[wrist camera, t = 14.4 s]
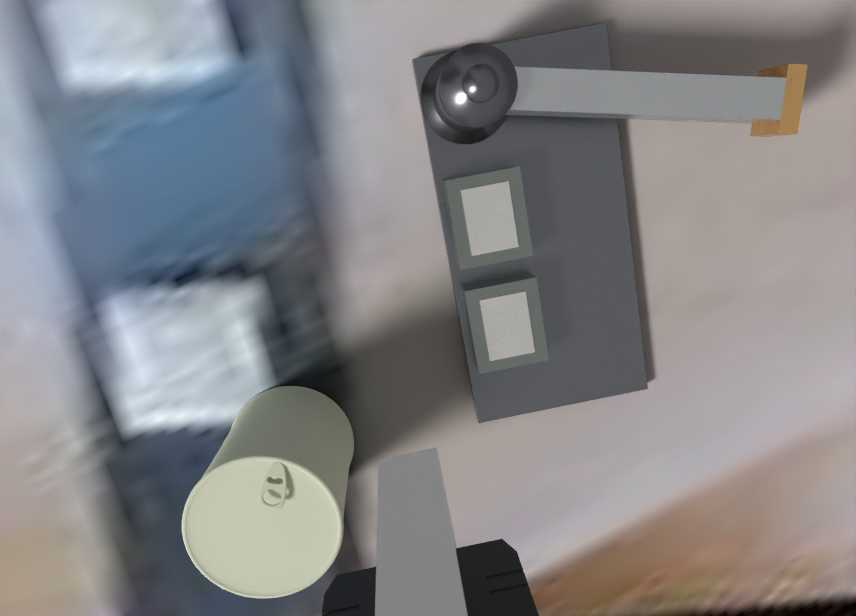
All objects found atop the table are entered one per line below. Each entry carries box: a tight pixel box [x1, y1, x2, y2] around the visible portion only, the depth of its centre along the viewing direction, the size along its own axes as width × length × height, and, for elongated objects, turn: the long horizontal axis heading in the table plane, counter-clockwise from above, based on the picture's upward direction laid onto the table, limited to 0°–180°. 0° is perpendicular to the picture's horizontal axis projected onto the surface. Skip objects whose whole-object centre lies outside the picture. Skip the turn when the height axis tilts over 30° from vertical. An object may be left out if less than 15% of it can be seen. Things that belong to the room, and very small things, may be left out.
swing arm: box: [433, 43, 808, 137], centre depth 38 cm, size 22×4×7 cm, turn 88°
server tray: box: [412, 23, 648, 423], centre depth 43 cm, size 26×13×3 cm, turn 11°
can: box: [182, 386, 354, 598], centre depth 41 cm, size 9×9×12 cm
